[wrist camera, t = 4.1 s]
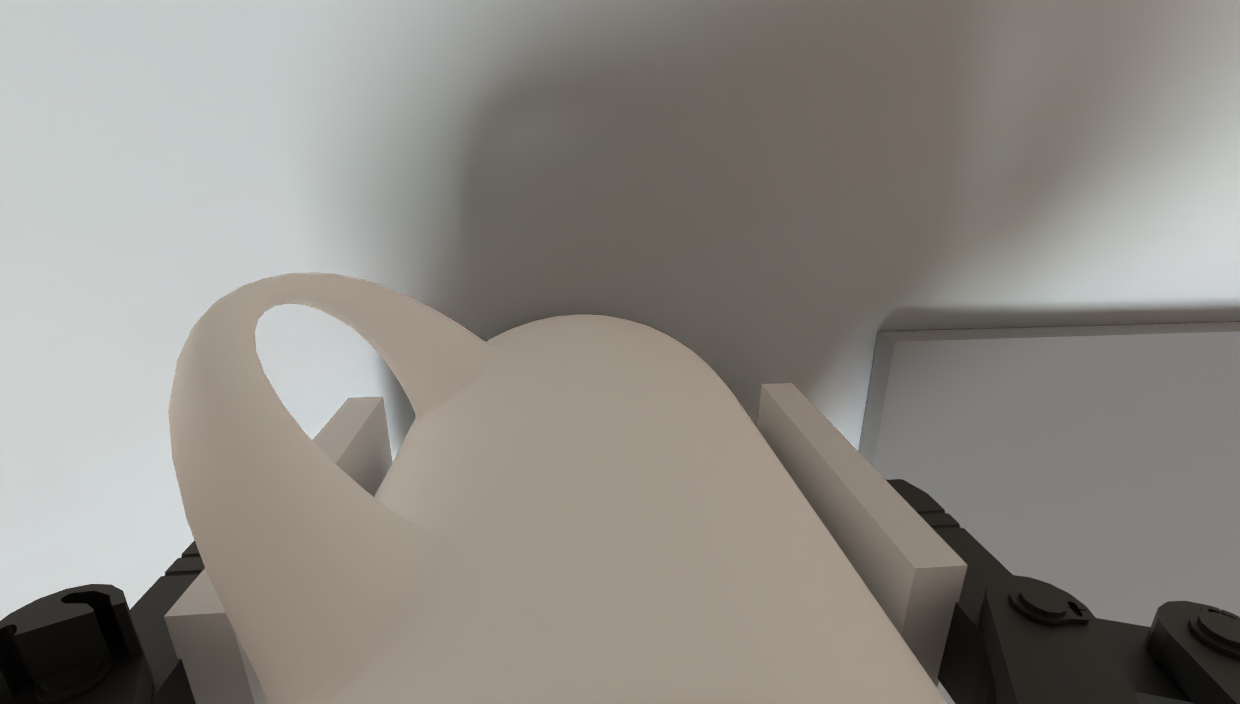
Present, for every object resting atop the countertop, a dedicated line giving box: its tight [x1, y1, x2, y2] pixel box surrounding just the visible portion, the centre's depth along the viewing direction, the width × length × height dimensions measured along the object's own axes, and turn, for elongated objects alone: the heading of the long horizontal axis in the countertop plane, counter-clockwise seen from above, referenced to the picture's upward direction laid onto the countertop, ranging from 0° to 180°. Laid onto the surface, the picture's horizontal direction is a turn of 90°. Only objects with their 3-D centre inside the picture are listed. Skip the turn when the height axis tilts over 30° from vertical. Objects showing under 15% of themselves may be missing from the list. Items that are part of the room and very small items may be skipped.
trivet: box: [859, 322, 1240, 704], centre depth 18 cm, size 14×14×1 cm
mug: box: [169, 273, 948, 704], centre depth 10 cm, size 9×12×11 cm
